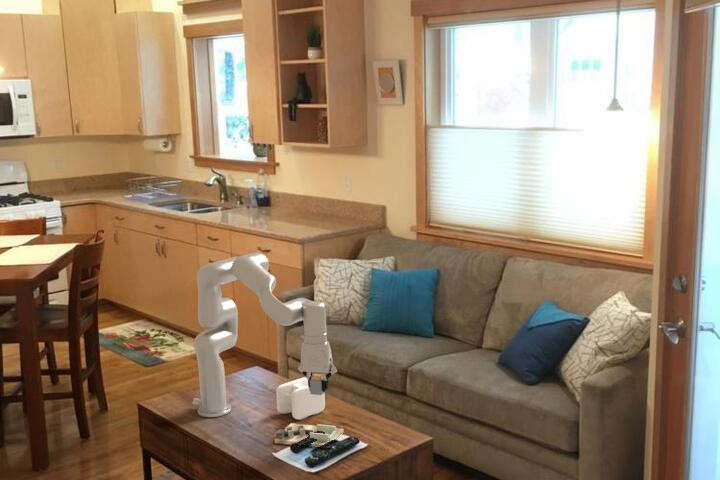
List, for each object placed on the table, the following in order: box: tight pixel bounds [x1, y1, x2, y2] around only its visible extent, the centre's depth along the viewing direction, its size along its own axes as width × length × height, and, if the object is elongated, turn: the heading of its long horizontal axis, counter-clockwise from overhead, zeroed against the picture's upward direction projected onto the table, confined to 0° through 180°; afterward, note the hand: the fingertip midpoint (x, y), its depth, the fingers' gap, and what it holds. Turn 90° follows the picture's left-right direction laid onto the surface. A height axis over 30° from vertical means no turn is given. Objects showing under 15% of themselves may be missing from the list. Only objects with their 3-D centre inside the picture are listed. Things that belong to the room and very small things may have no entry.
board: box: [274, 422, 344, 446], centre depth 271 cm, size 20×14×4 cm
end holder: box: [310, 423, 337, 441], centre depth 270 cm, size 7×8×2 cm
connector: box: [310, 373, 325, 395], centre depth 267 cm, size 4×4×6 cm
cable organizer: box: [275, 376, 326, 421], centre depth 292 cm, size 15×11×12 cm
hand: (318, 389), depth 267 cm, fingers closed on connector, 4 cm apart
